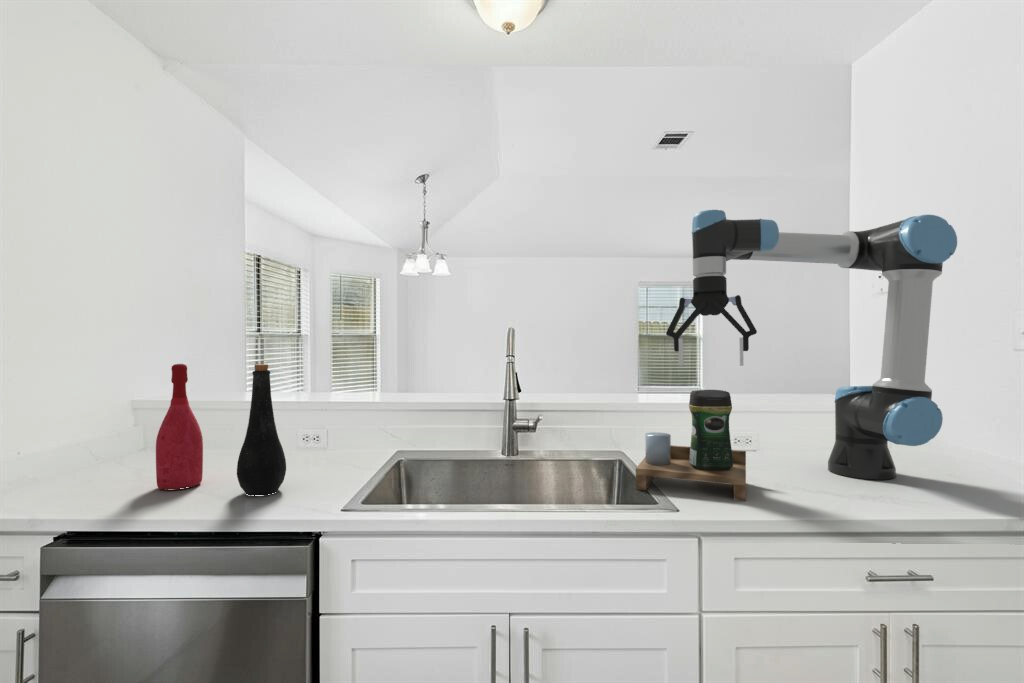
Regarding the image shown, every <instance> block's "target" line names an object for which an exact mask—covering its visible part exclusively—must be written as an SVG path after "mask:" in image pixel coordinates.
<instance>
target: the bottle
mask: <svg viewBox="0 0 1024 683" xmlns="http://www.w3.org/2000/svg"><path fill="white" fill-rule="evenodd" d="M268 369H269V364H268V363H267V364H263V363H262V364H254V370H253V371H252V372H251V373H252V386H251V387H252V388H251V401H250V409H249V416H248V422H247V423H248V424H247V427H246V428H247V429H246V432H245V436H244V440H243V444H242V446H241V449H240V451H239V456H238V458H237V459H238V460H237V465H236V477H237V480H238V484H239V486H240V488H241V490H242V491H244V494H245V493H246V494H248V495H254V496H255V495H268V494H272V493H275V492H277V491H278V492H279V489H280V488H281V485H282V484H283V483H284V480H285V476H286V473H287V461H286V455H285V452H284V448H283V446H282V443H281V441H280V438H279V435H278V432H277V426H276V422H275V415H274V408H273V402H272V400H273V399H272V388H271V387H272V386H271V377H270V376H271V370H268ZM278 492H277V493H278ZM275 494H276V493H275ZM272 495H273V494H272ZM268 496H269V495H268Z"/></svg>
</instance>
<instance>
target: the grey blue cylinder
mask: <svg viewBox="0 0 1024 683" xmlns="http://www.w3.org/2000/svg"><path fill="white" fill-rule="evenodd" d="M671 440H672V439H671V434H670V433H667V432H656V431H655V432H646V433H645V457H646V463H647V464H651V465H669V464H671V442H672V441H671Z"/></svg>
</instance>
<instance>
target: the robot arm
mask: <svg viewBox="0 0 1024 683" xmlns="http://www.w3.org/2000/svg"><path fill="white" fill-rule="evenodd" d="M691 224H692V225H691V227H692V228H691V236H692V237H691V239H692V242H691V243H692V275H693V276H694V278H693V280H692V288H693V289H692V294H693V295H692V298H684V297H681V298H680V297H679V298H680V299H679V303H678V307H677V310H676V311H675V314H674V316H673V318H672V320H671V322H670V324H669V326H668V328H667V329H666V332H665V334H666V336H667V337H671V338H672V339H673V350H674V352H678V366H684V338H681V336H682V335H683V334H684V333H685V332H686V331H687V329H688V328H689V327H690V326H691V324H693V322H694V321H695V320H696V319H697V317H698V316H699V315H701V316H703V317H705V316H710V315H711V316H719V315H720V314H721V315H722V316H724V318H725V319H726V320H727V321H728V322H729V323H730V324H731V325H732V326H733V327H734V328H735V329H736V330H737V331H738V333H740V334H741V336H742V337H739V366H740V367H741V366H742V367H743V366H744V352H748V351H749V347H750V346H749V339H750V337H751V336H754V335H757V333H758V330H757V329H756V327H755V325H754V324H753V322H752V320H751V318H750V316H749V315H748V313H747V310H746V309H745V307H744V306H743V304H742V298H741V295H738V294H737V295H735V296H728V294H727V292H728V291H727V284H728V283H727V277H726V276H725V275H727V262H728V261H730V260H734V261H735V260H737V261H738V260H739V261H744V260H745V261H748V260H749V261H766V262H785V263H786V262H790V263H806V264H807V263H809V264H810V263H811V264H812V263H813V264H830V265H832V264H833V265H837V266H838V267H840V268H842V269H855V270H864V271H865V270H867V271H875V272H876V271H877V272H881V275H882V276H883V277H884V278H885V279H886V280H887V281H888V285H887V286H888V287H887V297H886V298H887V299H886V308H885V309H886V310H885V311H886V312H885V320H884V321H885V322H884V335H883V346H882V347H883V348H882V356H881V368H880V370H881V371H880V378H879V379H878V380H877V381H875V382H874V383H873V384H872V385H857V386H856V385H855V386H853V385H852V386H840V387H838V388H837V390H836V391H835V397H834V410H835V412H834V413H835V416H834V418H835V419H834V421H835V423H834V424H835V425H834V426H835V427H834V428H835V437H834V438H835V441H834V444H833V447H832V450H831V453H830V456H829V457H828V460H827V470H828V472H831V473H834V474H837V475H840V476H845V477H850V478H855V479H865V480H875V481H876V480H881V481H882V480H884V481H885V480H891V479H895V478H896V477H897V476H896V475H897V470H896V469H897V468H896V465H895V463H894V460H893V457H892V455H891V451H890V449H889V446H888V442H889V443H893V444H895V445H901V446H907V447H908V446H909V447H918V446H922V445H925V444H927V443H929V442H930V441H931V440H932V439H934V438H935V437H936V436H937V435H938V434H939V432H940V430H941V428H942V425H943V413H942V410H941V408H939V405H938V404H937V403H936V402H935V401H933V400H932V398H933V397H932V396H933V389H932V388H930V387H929V385H927V384H926V381H925V380H926V370H927V358H928V356H927V355H928V343H929V332H930V322H931V321H930V319H931V309H932V297H933V295H932V294H933V286H934V285H933V284H934V281H935V280H937V278H939V277H940V276H941V275H942V274H943V266H944V262H946V261H948V260H949V259H950V258H951V256H953V255H954V254H955V252H956V250H957V247H958V235H957V232H956V230H955V228H954V227H953V225H951V224H949V222H948V221H947V220H946V219H945V218H943V217H941V216H939V215H935V214H921V215H917V216H916V215H915V216H910V217H908V218H905V219H902V220H899V221H896V222H892V223H889V224H887V225H882V226H879V227H875V228H871V229H867V230H859V231H845V232H844V233H842V234H829V233H826V234H825V233H806V232H805V233H803V232H782V231H781V232H779V230H780V229H779V226H778V224H777V222H776V221H775V220H773V219H762V218H758V219H728V218H727V216H726V212H725V211H724V210H721V209H720V210H719V209H707V210H702V211H699V212H696V213H695V214H694V215H693V216H692V223H691ZM729 302H730V303H731V304H732V305H733V306H736V309H737V311H738V312H739V314H740V315H741V317H742V319H743V321H744V322H745V324H746V326H747V328H748V330H747V331H746V330H745V328H744V327H743V326H742V325H741V324H740V323H739V322H738V321H737V320H736V319H735V318H734V317H733V316H732V315H731V314H730V312H728V311H727V310H726V307H727V306H728V304H729ZM689 305H692V306H693V308H695V309H694V310H693V311H692V312H691V314H690V315H689V316H688V317H687V319H686V320H685V321H684V322H683V323H682V324H681V326H679V328H678V330H677V331H675V329H676V327H677V326H678V324H679V321H680V320H681V317H682V315H683V314H684V311H685V309H686V308H688V307H689ZM674 331H675V332H674Z"/></svg>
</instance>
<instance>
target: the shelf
mask: <svg viewBox="0 0 1024 683" xmlns="http://www.w3.org/2000/svg"><path fill="white" fill-rule="evenodd" d="M746 452H747V450H738V449H732V457H733V467H732V468H730V469H724V470H705V469H699V468H696V467H695V468H694V467H693V466H691V464H690V446H685V445H684V446H683V445H671V464H669V465H651V464H647V463H646V456H645V457H643V459H642V460H641V461H640V462H639V464H638V465H637V466H636V467H635V490H638V491H639V490H641V491H647V489H648V488H649V487H650V485H651V483H652V482H653V481H654V479H655V477H656V478H657V477H658V478H665V479H666V478H668V479H676V480H677V479H679V480H689V481H699V482H707V483H709V482H710V483H717V484H718V483H719V484H729V485H733V500H734V501H738V502H739V501H741V502H746V501H747V500H746V499H747V498H746V495H747V490H746V489H747V486H746V485H747V482H746V481H747V469H746V468H747V467H746V466H747V456H746V454H747V453H746Z"/></svg>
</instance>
